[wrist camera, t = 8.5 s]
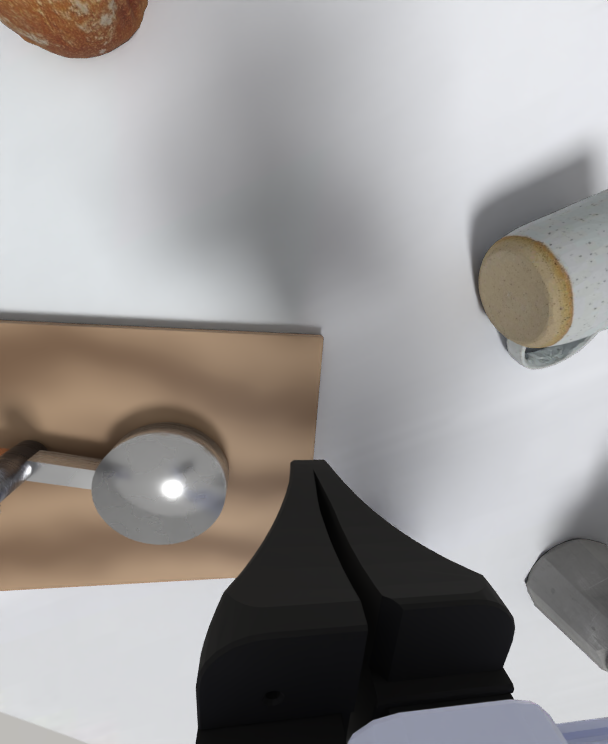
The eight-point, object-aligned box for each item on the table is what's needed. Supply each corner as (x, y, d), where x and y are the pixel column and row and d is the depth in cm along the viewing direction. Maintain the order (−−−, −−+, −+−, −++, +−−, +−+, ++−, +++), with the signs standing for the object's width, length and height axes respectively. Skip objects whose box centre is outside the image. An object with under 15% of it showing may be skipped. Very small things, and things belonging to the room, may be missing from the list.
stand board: (301, 563, 27) (306, 603, 24) (5, 578, 24) (-37, 627, 20) (320, 334, 21) (331, 345, 18) (-68, 316, 18) (-142, 326, 15)
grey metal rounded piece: (239, 434, 21) (231, 480, 16) (217, 528, 23) (204, 593, 18) (0, 391, 18) (-92, 430, 14) (-1, 501, 20) (-82, 569, 16)
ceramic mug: (459, 242, 20) (567, 227, 13) (574, 192, 20) (748, 149, 13) (487, 380, 24) (585, 428, 17) (586, 338, 24) (727, 368, 17)
